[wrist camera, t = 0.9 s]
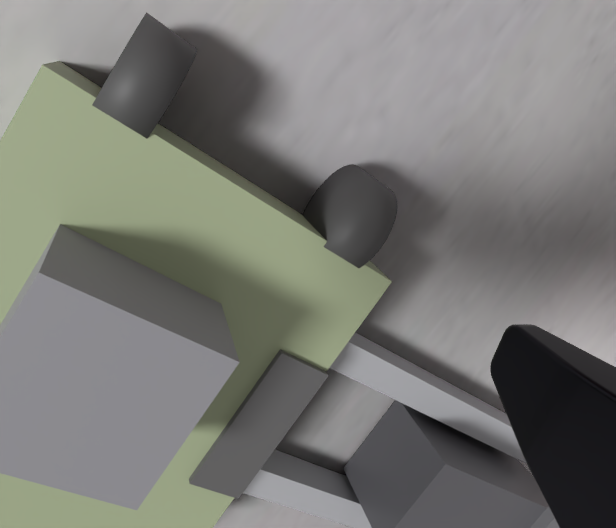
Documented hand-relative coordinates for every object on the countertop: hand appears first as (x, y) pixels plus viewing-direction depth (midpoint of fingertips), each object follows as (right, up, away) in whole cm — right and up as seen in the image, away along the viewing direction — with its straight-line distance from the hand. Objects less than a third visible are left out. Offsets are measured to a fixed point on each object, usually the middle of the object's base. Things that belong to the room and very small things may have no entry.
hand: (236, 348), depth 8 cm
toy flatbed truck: (0, -5, +18) cm, 19 cm away
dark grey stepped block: (+8, -10, +23) cm, 26 cm away
